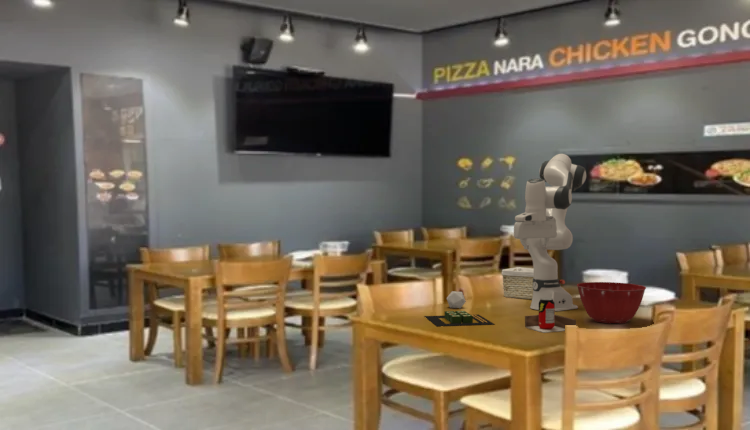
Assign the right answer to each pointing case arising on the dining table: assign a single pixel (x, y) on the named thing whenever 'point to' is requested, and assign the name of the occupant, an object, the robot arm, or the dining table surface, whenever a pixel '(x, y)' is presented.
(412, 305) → the dining table surface
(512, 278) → the storage basket
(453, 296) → the die
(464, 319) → the sushi
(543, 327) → the beverage can
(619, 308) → the mixing bowl
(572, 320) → the corner fence
